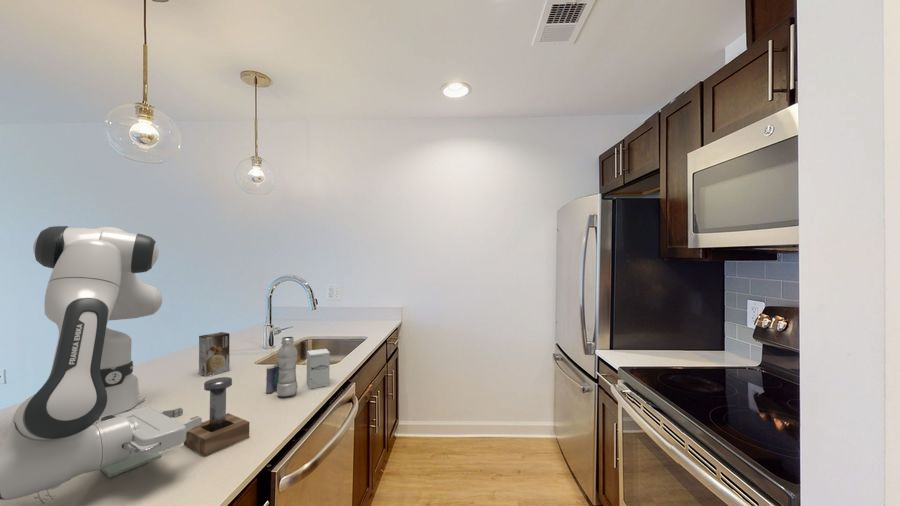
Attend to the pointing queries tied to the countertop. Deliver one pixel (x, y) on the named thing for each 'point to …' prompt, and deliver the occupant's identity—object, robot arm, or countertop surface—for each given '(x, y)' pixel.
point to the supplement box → (318, 368)
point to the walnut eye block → (217, 435)
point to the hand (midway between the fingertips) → (190, 415)
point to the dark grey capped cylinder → (217, 401)
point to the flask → (272, 378)
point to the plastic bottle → (287, 368)
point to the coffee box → (213, 353)
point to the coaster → (130, 463)
